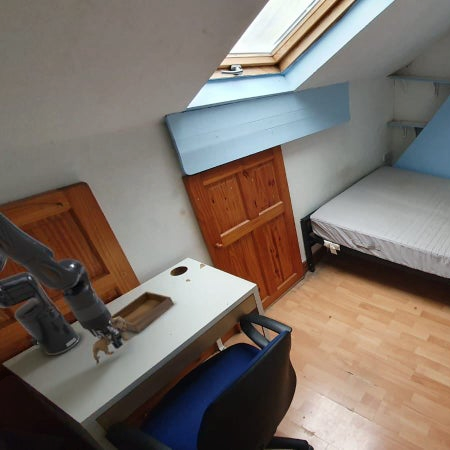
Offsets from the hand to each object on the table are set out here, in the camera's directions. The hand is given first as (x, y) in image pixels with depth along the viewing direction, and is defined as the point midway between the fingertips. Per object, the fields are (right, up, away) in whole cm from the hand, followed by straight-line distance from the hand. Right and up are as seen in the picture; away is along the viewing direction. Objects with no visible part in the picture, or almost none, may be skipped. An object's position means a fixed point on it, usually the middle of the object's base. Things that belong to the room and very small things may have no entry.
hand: (114, 345), depth 111 cm
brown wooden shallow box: (-5, +6, +19) cm, 20 cm away
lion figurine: (0, -1, +1) cm, 1 cm away
